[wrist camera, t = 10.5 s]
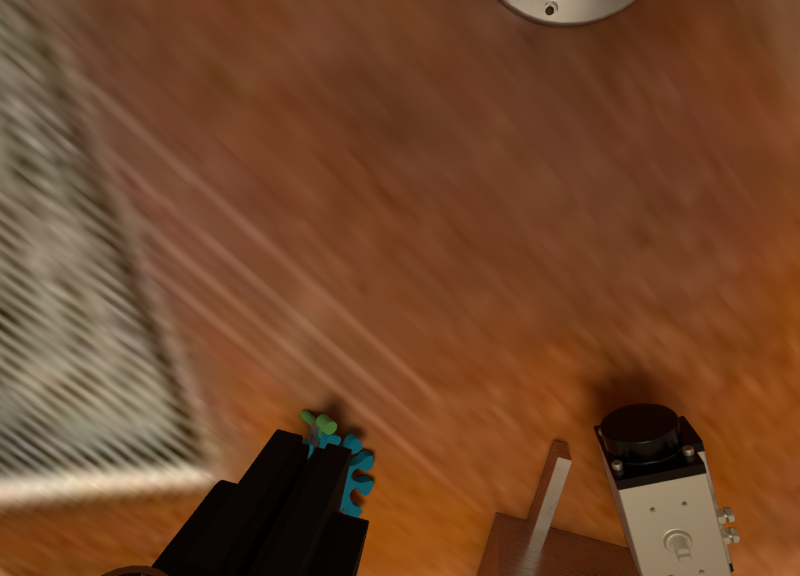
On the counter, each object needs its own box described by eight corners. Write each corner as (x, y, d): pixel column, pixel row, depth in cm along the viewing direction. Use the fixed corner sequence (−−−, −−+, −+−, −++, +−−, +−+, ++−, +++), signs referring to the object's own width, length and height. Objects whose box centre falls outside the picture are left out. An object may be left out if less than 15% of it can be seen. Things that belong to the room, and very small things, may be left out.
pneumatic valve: (614, 513, 43) (663, 648, 31) (576, 377, 41) (613, 469, 29) (689, 499, 42) (768, 634, 30) (654, 358, 39) (725, 447, 28)
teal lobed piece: (362, 547, 45) (247, 576, 39) (325, 506, 49) (216, 526, 43) (395, 421, 43) (281, 429, 37) (354, 390, 48) (245, 393, 41)
